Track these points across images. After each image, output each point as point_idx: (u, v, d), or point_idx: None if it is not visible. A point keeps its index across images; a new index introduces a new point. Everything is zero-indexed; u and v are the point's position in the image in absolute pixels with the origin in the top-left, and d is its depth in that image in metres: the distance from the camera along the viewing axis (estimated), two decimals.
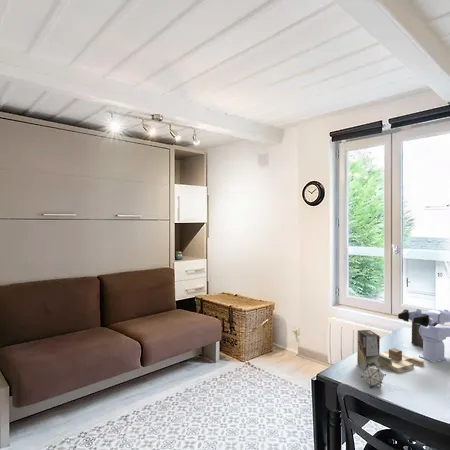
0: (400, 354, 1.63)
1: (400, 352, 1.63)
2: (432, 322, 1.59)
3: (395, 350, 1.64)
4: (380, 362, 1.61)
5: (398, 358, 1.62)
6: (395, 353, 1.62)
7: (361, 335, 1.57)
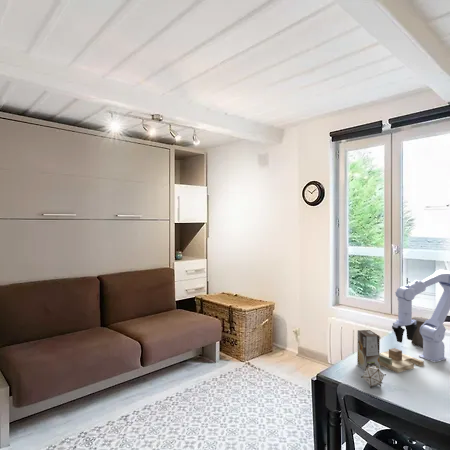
0: (400, 354, 1.63)
1: (400, 352, 1.63)
2: (395, 325, 1.64)
3: (395, 350, 1.64)
4: (380, 362, 1.61)
5: (398, 358, 1.62)
6: (395, 353, 1.62)
7: (361, 335, 1.57)
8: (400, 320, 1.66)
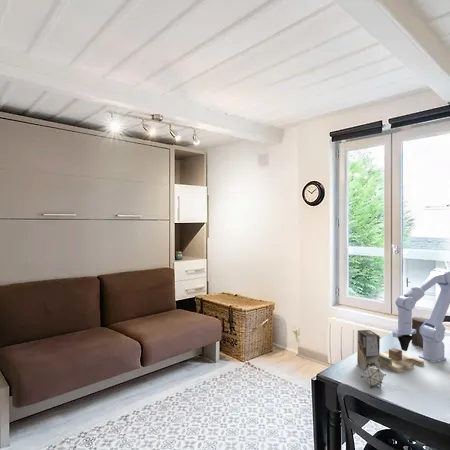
0: (400, 354, 1.63)
1: (400, 352, 1.63)
2: (395, 335, 1.64)
3: (395, 350, 1.64)
4: (380, 362, 1.61)
5: (398, 358, 1.62)
6: (395, 353, 1.62)
7: (361, 335, 1.57)
8: (400, 329, 1.66)
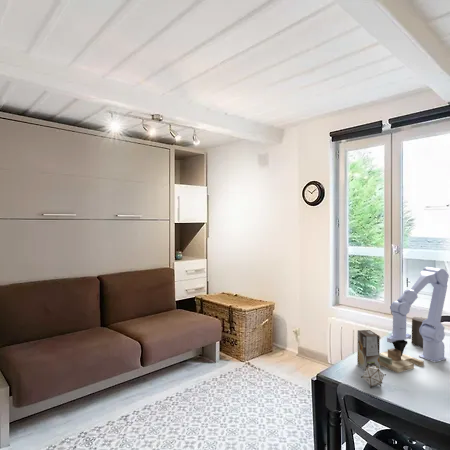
0: (399, 354, 1.63)
1: (399, 352, 1.63)
2: (389, 340, 1.62)
3: (394, 350, 1.63)
4: (380, 362, 1.61)
5: (397, 358, 1.62)
6: (394, 353, 1.62)
7: (361, 335, 1.57)
8: (394, 335, 1.65)
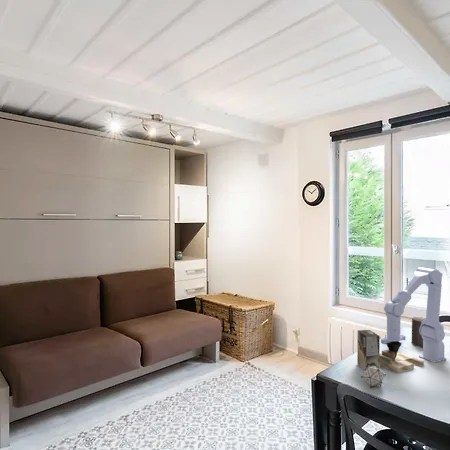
0: (393, 356, 1.61)
1: (393, 354, 1.61)
2: (383, 342, 1.60)
3: (388, 352, 1.61)
4: (380, 362, 1.61)
5: None
6: (388, 354, 1.60)
7: (361, 335, 1.57)
8: (388, 336, 1.63)
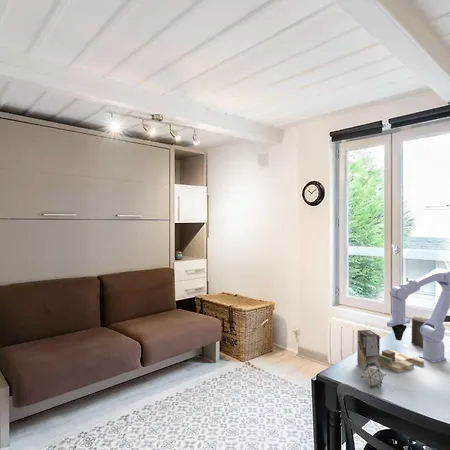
0: (393, 356, 1.61)
1: (393, 354, 1.61)
2: (389, 325, 1.65)
3: (388, 352, 1.61)
4: (380, 362, 1.61)
5: None
6: (388, 354, 1.60)
7: (361, 335, 1.57)
8: (394, 319, 1.68)
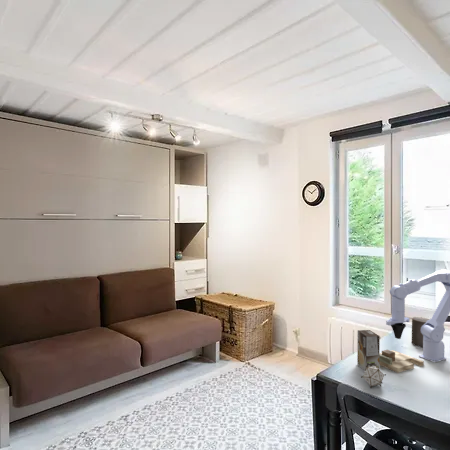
0: (393, 356, 1.61)
1: (393, 354, 1.61)
2: (388, 323, 1.67)
3: (388, 352, 1.61)
4: (380, 362, 1.61)
5: None
6: (388, 354, 1.60)
7: (361, 335, 1.57)
8: (393, 318, 1.70)
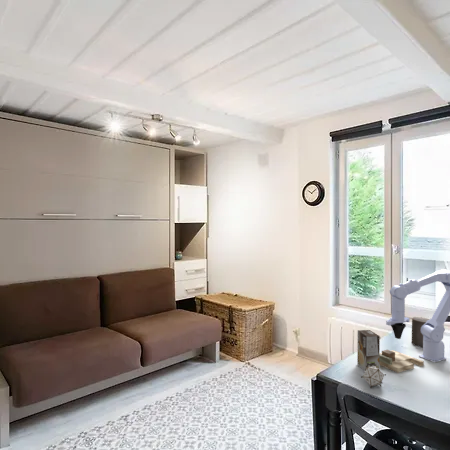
0: (393, 356, 1.61)
1: (393, 354, 1.61)
2: (388, 323, 1.67)
3: (388, 352, 1.61)
4: (380, 362, 1.61)
5: None
6: (388, 354, 1.60)
7: (361, 335, 1.57)
8: (393, 318, 1.70)
